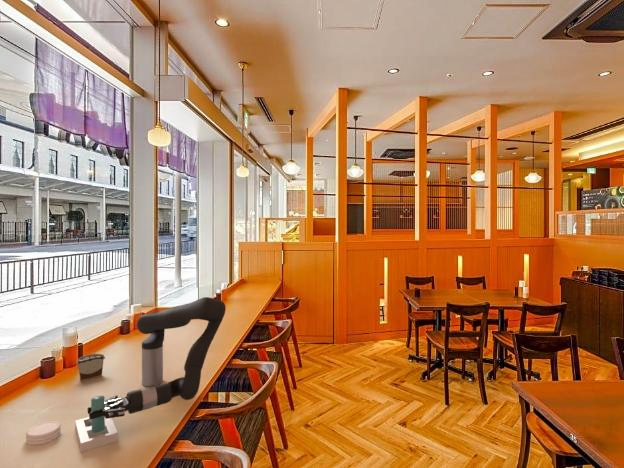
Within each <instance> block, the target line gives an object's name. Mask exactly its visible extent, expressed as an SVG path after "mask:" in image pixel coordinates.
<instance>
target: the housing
mask: <svg viewBox="0 0 624 468" xmlns="http://www.w3.org/2000/svg"><path fill="white" fill-rule="evenodd" d="M74 423H75V424H74V425H75V426H74V427H75V433H76V436H77V442H78V446H79V450H80V453H83V452H88V451H90V450H94V449H97V448H100V447H103V446H106V445H109V444H113V443H116V442H118V441H119V438H118V437H119V434H118V433H119V432H118V430H117V427H116V426H115V423H114V421H113V418H108V419H106V418H105V429H104V430H103V431H101V432H97V433H94V432H92V419H90V418H89V416H87V417H84V418H80V419H76V420H75V421H74Z"/></svg>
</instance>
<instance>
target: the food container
mask: <svg viewBox="0 0 624 468" xmlns="http://www.w3.org/2000/svg"><path fill="white" fill-rule="evenodd" d="M104 359H106V356H105V354H102V353H93V354H92V353H91V354H86V355H83V356H81V357H79V358H78V359H77V360H76V366H78V374H79V381H81V382H82V381H85V380H90V379H94V378H97V377H102V376H103V368H104Z"/></svg>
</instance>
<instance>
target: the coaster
mask: <svg viewBox="0 0 624 468" xmlns="http://www.w3.org/2000/svg"><path fill="white" fill-rule="evenodd" d="M60 423H61V422H58V421H54V420H53V421H50V420H49V421H45V422H40V423H38V424H35V425H33V426H31V428H29V429H28V430H26V433H25V436H26V437H25V439H26V440H25V442H26V444H28V445H30V446H40V445H44V444H47V443H51V442H53V441H54V440H56V439H57V438H58V437H60V435H61V433H62V432H61V424H60Z"/></svg>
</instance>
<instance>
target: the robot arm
mask: <svg viewBox="0 0 624 468" xmlns="http://www.w3.org/2000/svg"><path fill="white" fill-rule="evenodd" d="M226 310H227V308H226V304H225V302H224V301H223V300H220V299H216V298H213V297H209V296H208V297H206V296H204V297H201V298H199V299H196V300H195V301H192V302H189V303H185V304H182V305H181V304H180V305H176V306H173V307H169V308H167V309H164V310H163V309H162V311H155V312H154V311H153V312H150V313H145V314H141V316H139V317H138V319H137V321H136V328H137V330H138V331H139V332H140V333H141V334H144V335H148V337H146V338H145V339H144V340H143V341H142V342H141V385H142V386H143V387H144V388H140V389H139V388H138V389H136V390H130V391H128V392H127V393H126V396H125V397H119V395H113V396H111V397H108V398H104V403H105V408H104V409H101V410H97V411H93V412H91V406H89V407H88V408H87V414H88V417H89V418H90V419H94V418H98V417H105V418H106V419H108V418H112V419H114V418H121V417H124V416H125V414H126V413H125V412H128V414H135V413H138V412H143V411H146V410H150V409H152V408H154V407H158V406H162V405H166V404H168V403H170V402H171V401H172V399H174V398H176V397H180V398H181V399H183V400H185V401H190V400H192V399H193V398H195V397H196V395H197V394H198V392H199V388H200V383H201V377H202V369H203V367H204V363H205V360H206V357H207V354H208V351H209V348H210V346H211V344H212V342H213V341H214V338H215V336H216V334H217V332H218V330H219V327H220V325H221V323H222V322H223V319H224V317H225V314H226ZM192 320H201V321H207V324H206V328H205V330H204V331H203V332H202V334H201V335H200V336H199V337H198V338H197V339H196V340H195V342H194V343H193V344H192V345H191V347H190V349H189V351H188V353H187V357H186V360H185V362H184V366H183V370H184V376H183V377H182V376H181V377H178V378H175V379H173V380H171V381H169V382H166V383H164V384H162V383H163V382H164V380H163V379H164V369H163V368H164V341H165V330H170V329H176V328H182V327H185V326H187V325H188V324H189V323H191V321H192Z"/></svg>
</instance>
